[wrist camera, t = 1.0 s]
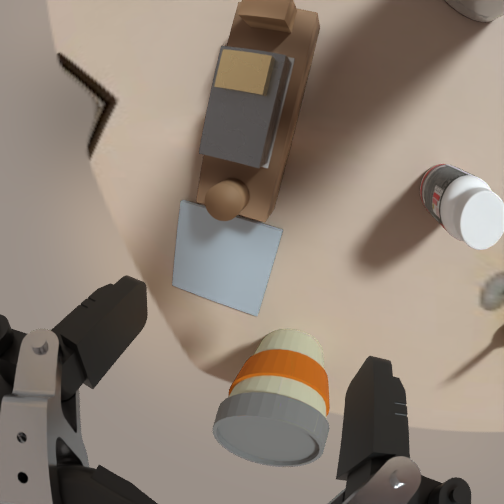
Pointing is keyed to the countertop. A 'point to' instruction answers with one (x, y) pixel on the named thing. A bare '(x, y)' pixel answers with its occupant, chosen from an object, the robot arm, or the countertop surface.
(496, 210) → the pill bottle
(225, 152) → the lever cap
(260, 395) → the reusable coffee cup
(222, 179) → the plane body
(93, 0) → the countertop surface
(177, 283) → the rubber mat
